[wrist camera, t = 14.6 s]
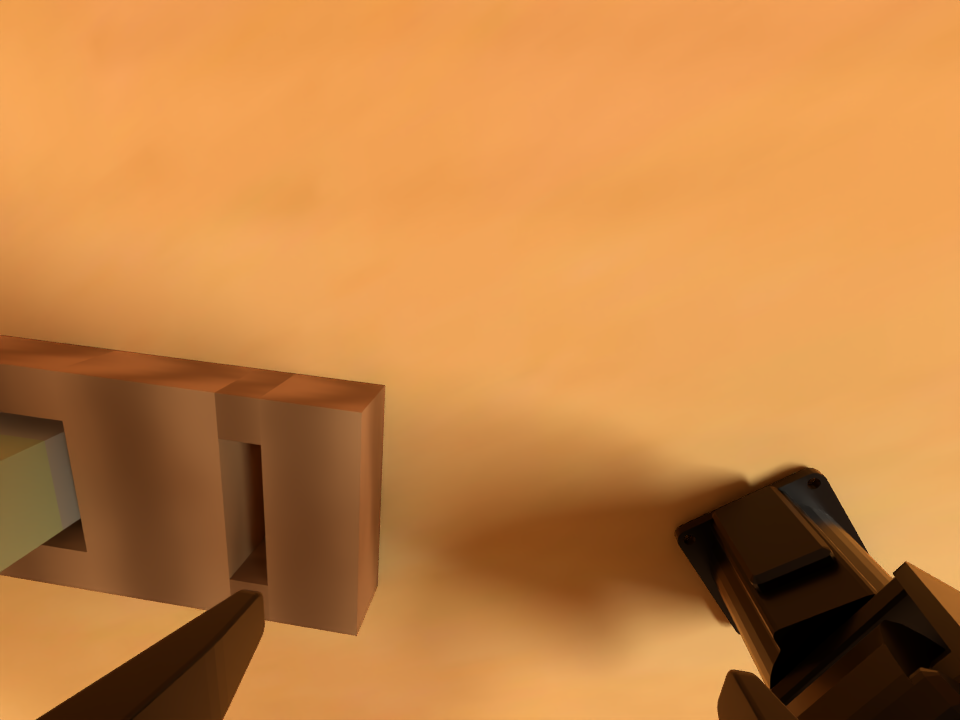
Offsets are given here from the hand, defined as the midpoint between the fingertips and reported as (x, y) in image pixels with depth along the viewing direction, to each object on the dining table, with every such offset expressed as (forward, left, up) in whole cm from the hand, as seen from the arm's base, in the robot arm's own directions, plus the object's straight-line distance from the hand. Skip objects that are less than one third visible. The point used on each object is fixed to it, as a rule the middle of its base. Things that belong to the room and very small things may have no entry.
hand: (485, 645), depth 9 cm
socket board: (+7, +16, -12) cm, 21 cm away
